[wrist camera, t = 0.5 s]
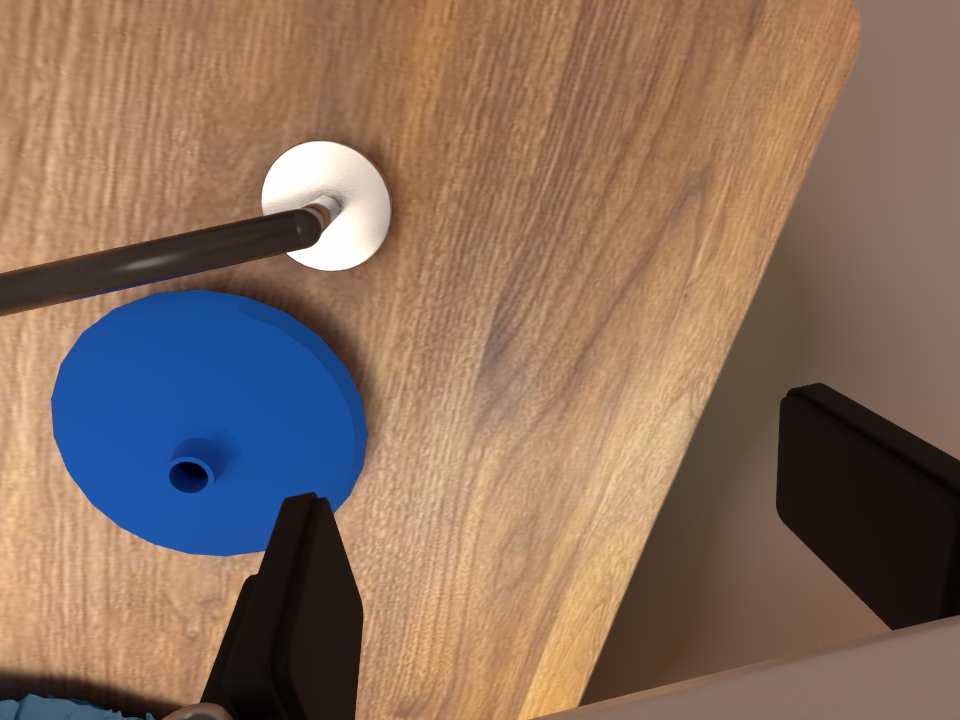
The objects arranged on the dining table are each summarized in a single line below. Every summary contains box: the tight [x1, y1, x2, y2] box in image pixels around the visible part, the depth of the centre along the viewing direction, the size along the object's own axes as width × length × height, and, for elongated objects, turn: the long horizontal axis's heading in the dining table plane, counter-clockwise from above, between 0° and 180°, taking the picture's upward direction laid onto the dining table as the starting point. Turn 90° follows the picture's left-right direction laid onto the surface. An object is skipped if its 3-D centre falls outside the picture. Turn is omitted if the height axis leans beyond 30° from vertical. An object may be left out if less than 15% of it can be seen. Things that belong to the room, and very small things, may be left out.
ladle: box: [0, 140, 393, 317], centre depth 24 cm, size 16×6×11 cm, turn 101°
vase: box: [51, 290, 368, 556], centre depth 29 cm, size 16×16×7 cm
